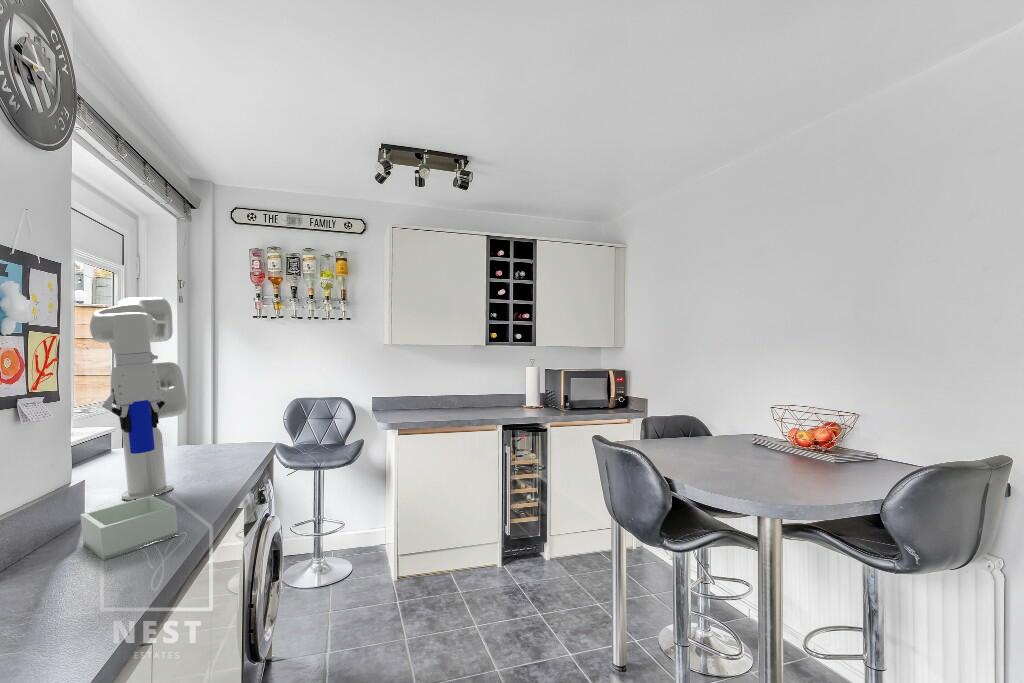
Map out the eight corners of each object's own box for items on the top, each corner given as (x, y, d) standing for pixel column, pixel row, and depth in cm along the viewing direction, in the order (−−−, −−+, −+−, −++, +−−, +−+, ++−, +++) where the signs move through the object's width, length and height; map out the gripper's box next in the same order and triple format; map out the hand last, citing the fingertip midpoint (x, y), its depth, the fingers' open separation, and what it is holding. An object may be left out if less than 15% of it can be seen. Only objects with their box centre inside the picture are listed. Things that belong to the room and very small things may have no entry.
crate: (83, 544, 117) (80, 514, 117) (154, 522, 128) (151, 495, 128) (103, 560, 107) (100, 528, 107) (178, 535, 118) (175, 506, 118)
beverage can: (159, 450, 134) (154, 394, 133) (139, 456, 129) (134, 398, 128) (145, 450, 136) (140, 394, 135) (125, 455, 131) (120, 398, 130)
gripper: (166, 357, 140) (172, 421, 141) (88, 363, 127) (95, 435, 128) (176, 357, 136) (182, 424, 137) (96, 364, 122) (104, 438, 123)
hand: (140, 428), depth 132 cm, fingers closed on beverage can, 5 cm apart
